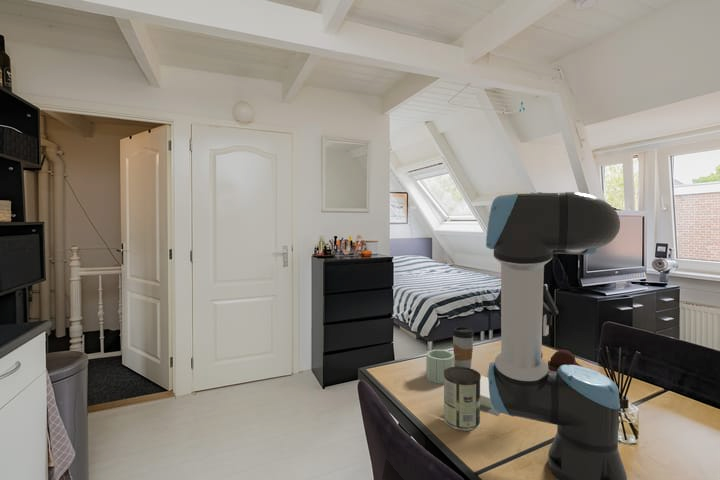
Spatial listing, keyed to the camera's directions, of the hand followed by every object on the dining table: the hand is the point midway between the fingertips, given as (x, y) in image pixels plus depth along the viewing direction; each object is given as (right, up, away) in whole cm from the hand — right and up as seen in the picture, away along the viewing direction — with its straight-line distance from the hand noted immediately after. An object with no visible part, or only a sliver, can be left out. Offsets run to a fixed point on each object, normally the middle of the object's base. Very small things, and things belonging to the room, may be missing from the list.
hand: (524, 330), depth 120 cm
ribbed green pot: (-26, -21, +11) cm, 35 cm away
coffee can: (-26, -22, -17) cm, 38 cm away
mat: (-14, -21, -3) cm, 26 cm away
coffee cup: (-14, -20, +22) cm, 33 cm away
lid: (-14, -21, -3) cm, 25 cm away
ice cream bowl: (+13, -21, -1) cm, 25 cm away
